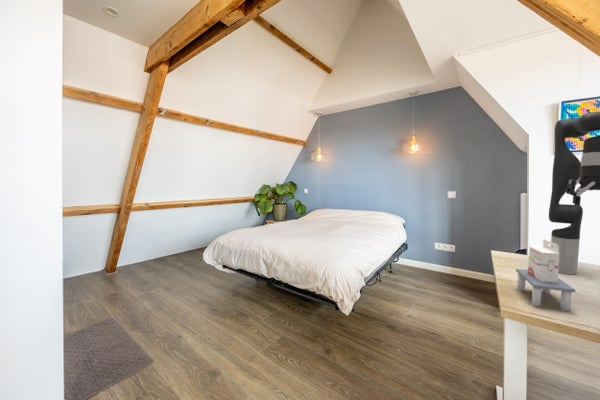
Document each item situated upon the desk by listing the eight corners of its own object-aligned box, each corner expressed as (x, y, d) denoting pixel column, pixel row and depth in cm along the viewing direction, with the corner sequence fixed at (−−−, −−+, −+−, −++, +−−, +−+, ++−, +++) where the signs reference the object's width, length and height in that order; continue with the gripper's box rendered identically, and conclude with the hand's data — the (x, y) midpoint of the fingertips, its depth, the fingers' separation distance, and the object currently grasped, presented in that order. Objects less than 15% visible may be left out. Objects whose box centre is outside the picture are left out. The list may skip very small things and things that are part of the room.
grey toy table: (515, 287, 103) (516, 268, 102) (548, 291, 99) (550, 272, 98) (532, 306, 89) (534, 284, 88) (573, 312, 84) (575, 289, 83)
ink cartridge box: (526, 273, 98) (528, 238, 96) (541, 273, 96) (543, 238, 95) (542, 282, 89) (544, 244, 88) (558, 283, 88) (561, 245, 87)
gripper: (614, 163, 92) (610, 204, 94) (564, 165, 98) (561, 204, 100) (631, 162, 85) (626, 207, 87) (576, 165, 91) (573, 206, 93)
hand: (592, 205), depth 93 cm, fingers open, 8 cm apart
